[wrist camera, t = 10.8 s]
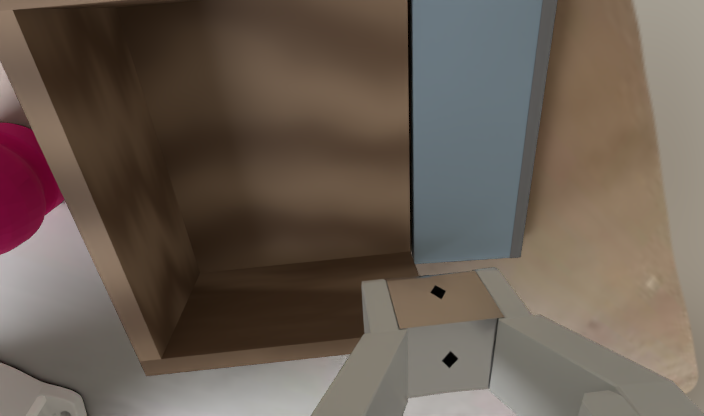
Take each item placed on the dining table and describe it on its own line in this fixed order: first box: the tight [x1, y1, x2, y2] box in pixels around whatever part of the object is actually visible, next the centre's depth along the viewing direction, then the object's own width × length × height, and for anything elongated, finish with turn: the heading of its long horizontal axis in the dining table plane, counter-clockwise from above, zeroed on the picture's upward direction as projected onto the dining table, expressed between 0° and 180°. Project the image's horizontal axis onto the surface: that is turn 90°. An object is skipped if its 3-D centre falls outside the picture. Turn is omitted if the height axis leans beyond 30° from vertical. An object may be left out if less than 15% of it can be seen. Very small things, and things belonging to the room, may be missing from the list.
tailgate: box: [410, 0, 557, 264], centre depth 26 cm, size 20×1×8 cm
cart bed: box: [0, 0, 419, 376], centre depth 23 cm, size 20×17×10 cm
